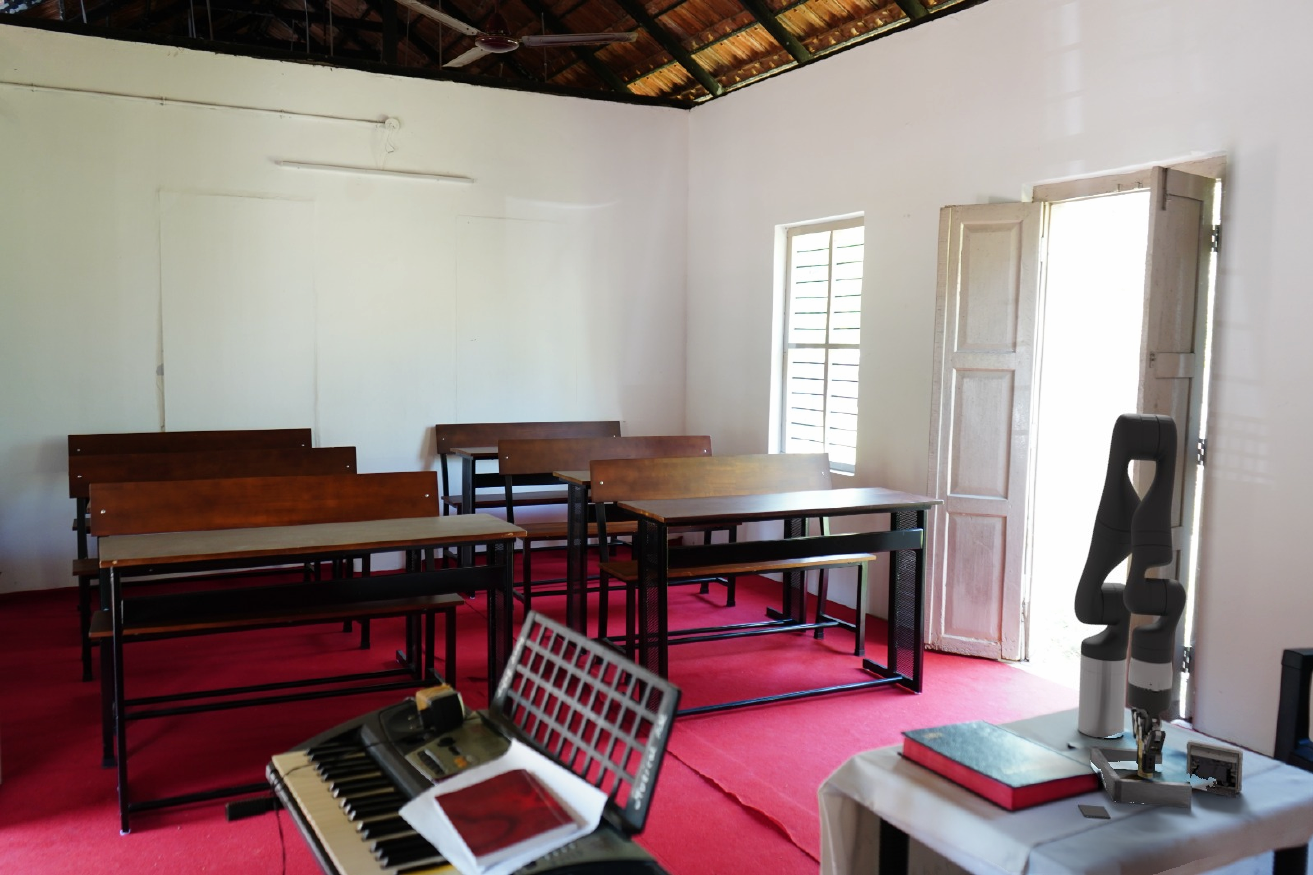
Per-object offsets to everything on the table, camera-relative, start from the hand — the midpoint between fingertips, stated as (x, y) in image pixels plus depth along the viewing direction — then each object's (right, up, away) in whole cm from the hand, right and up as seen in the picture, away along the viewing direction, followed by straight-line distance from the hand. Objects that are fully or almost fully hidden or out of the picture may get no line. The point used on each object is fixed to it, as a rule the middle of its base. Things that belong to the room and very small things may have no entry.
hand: (1145, 768), depth 193 cm
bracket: (-1, -3, 0) cm, 3 cm away
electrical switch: (+12, -4, -2) cm, 13 cm away
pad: (-15, -4, -12) cm, 20 cm away
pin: (0, -1, 0) cm, 1 cm away
